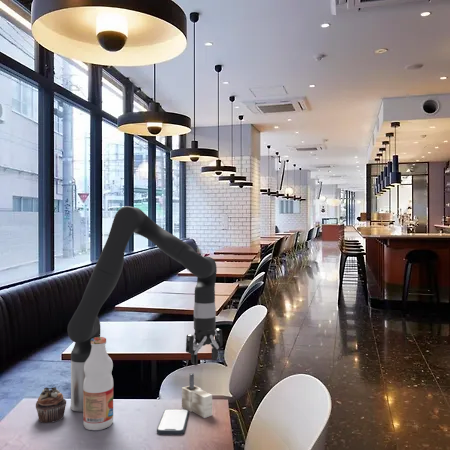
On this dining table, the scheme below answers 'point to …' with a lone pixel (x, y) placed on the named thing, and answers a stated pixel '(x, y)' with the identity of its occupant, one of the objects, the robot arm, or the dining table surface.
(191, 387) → the post
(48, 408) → the cupcake
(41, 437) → the dining table surface
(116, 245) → the robot arm
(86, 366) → the fruit juice
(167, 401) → the dining table surface
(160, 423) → the smartphone
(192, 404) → the open-ended tube with peg
